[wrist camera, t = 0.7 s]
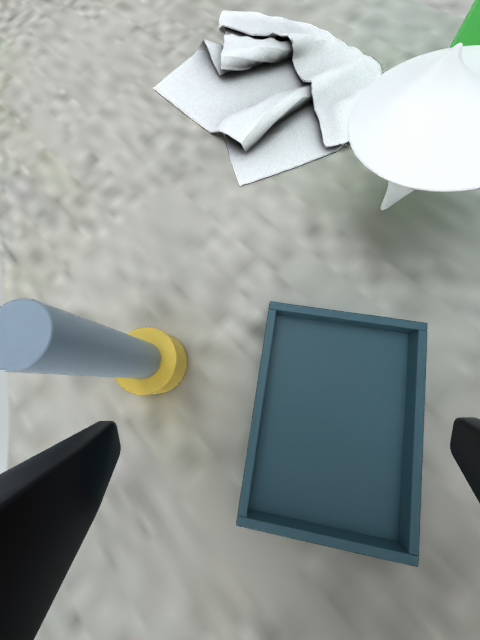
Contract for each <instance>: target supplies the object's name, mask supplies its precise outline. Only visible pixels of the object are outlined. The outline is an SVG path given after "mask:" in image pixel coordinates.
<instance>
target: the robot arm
mask: <svg viewBox="0 0 480 640" xmlns="http://www.w3.org/2000/svg"><path fill="white" fill-rule="evenodd" d="M450 449H451V452H452V455H453V457H454V459H455V460H456V462H457V464H458V466H459V467H460V469H461V471H462V473H463V475H464V476H465V478H466V480H467V482H468V483H469V485H470V487H471V489H472V490H473V492H474V494H475V496H476V497H477V499H478V501H479V503H480V419H477V418H473V417H465V418H457V419H456V420H455V421H454V425H453V430H452V436H451V442H450ZM120 450H121V446H120V440H119V435H118V430H117V426H116V423H115V422H113V421H99V422H97V423H95V424H93V425H91V426H89V427H88V428H86V429H84V430H82V431H80V432H78V433H76V434H74V435H73V436H71V437H69V438H67V439H65V440H63V441H61V442H59V443H58V444H56V445H54V446H52V447H50V448H48V449H46V450H45V451H43V452H41V453H39V454H37V455H35V456H33V457H31V458H30V459H28V460H26V461H24V462H22V463H20V464H18V465H17V466H15V467H13V468H11V469H9V470H7V471H5V472H3V473H2V474H0V640H34V638H35V636H36V634H37V632H38V630H39V628H40V626H41V624H42V622H43V620H44V618H45V616H46V614H47V612H48V610H49V608H50V606H51V604H52V602H53V600H54V598H55V596H56V594H57V592H58V590H59V588H60V586H61V584H62V582H63V580H64V578H65V576H66V574H67V572H68V570H69V568H70V566H71V564H72V562H73V560H74V558H75V556H76V554H77V552H78V550H79V548H80V546H81V544H82V542H83V540H84V538H85V536H86V534H87V532H88V530H89V528H90V526H91V524H92V522H93V520H94V518H95V516H96V513H97V511H98V509H99V507H100V504H101V502H102V499H103V497H104V494H105V492H106V489H107V486H108V484H109V481H110V479H111V476H112V473H113V471H114V468H115V466H116V463H117V460H118V458H119V455H120Z"/></svg>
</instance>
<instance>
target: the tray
mask: <svg viewBox="0 0 480 640" xmlns="http://www.w3.org/2000/svg"><path fill="white" fill-rule="evenodd" d="M426 352H427V323H423V322H416V321H409V320H401V319H394V318H387V317H380V316H372V315H365V314H358V313H350V312H343V311H336V310H329V309H321V308H314V307H307V306H300V305H292V304H285V303H278V302H270V304H269V310H268V317H267V324H266V330H265V337H264V343H263V350H262V357H261V363H260V370H259V376H258V383H257V390H256V396H255V403H254V409H253V416H252V423H251V429H250V436H249V442H248V449H247V456H246V462H245V469H244V475H243V482H242V489H241V495H240V502H239V509H238V515H237V522H236V525H237V526H241V527H245V528H249V529H254V530H258V531H263V532H267V533H271V534H276V535H280V536H284V537H289V538H293V539H298V540H302V541H306V542H311V543H315V544H320V545H324V546H328V547H333V548H337V549H341V550H346V551H350V552H355V553H359V554H363V555H368V556H372V557H376V558H381V559H385V560H390V561H394V562H398V563H403V564H407V565H411V566H416V567H418V562H419V557H418V556H419V537H420V511H421V484H422V458H423V432H424V405H425V379H426Z"/></svg>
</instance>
